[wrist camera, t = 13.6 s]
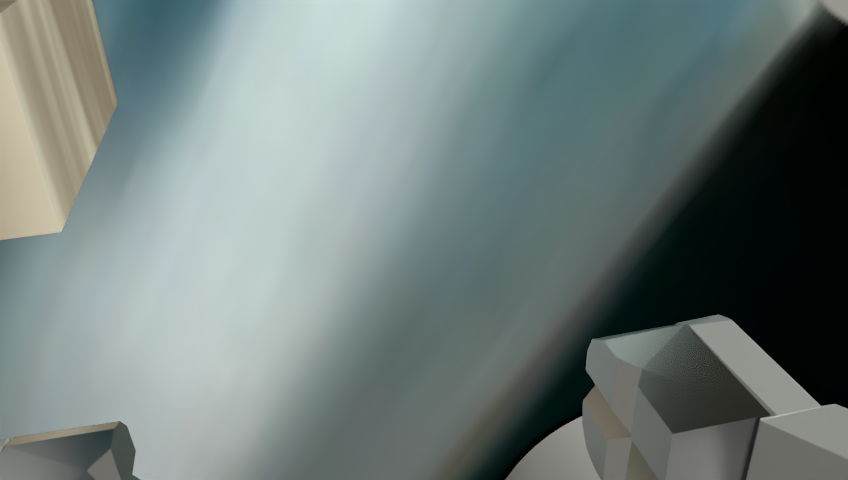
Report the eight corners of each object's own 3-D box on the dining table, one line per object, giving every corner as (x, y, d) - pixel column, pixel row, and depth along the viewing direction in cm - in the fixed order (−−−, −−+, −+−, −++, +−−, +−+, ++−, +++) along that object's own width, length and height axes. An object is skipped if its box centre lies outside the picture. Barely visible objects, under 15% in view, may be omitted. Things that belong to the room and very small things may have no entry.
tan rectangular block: (80, -47, 24) (-7, 18, 15) (117, 102, 26) (61, 232, 18) (13, -43, 23) (-114, 27, 15) (57, 109, 26) (-30, 243, 17)
